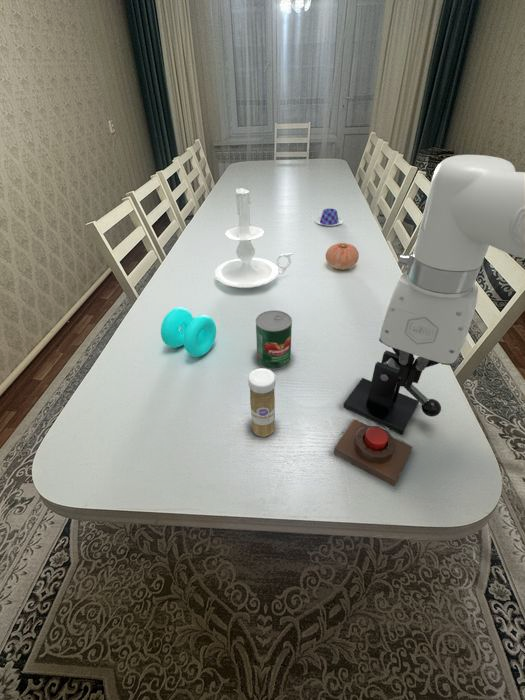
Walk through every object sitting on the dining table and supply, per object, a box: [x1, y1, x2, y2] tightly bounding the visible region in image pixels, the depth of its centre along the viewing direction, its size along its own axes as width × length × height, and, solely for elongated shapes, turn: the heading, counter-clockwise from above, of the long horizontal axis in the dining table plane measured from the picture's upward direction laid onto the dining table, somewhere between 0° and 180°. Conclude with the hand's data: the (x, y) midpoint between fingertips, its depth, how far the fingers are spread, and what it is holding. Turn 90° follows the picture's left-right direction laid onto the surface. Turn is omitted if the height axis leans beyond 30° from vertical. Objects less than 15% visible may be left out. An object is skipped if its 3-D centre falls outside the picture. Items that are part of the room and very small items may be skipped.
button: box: [364, 427, 388, 451], centre depth 61 cm, size 4×4×2 cm
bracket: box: [343, 349, 420, 435], centre depth 68 cm, size 12×9×12 cm
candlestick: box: [213, 187, 293, 289], centre depth 107 cm, size 21×25×28 cm
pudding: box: [314, 208, 344, 227], centre depth 154 cm, size 12×12×5 cm
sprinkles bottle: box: [248, 367, 276, 438], centre depth 64 cm, size 5×5×13 cm
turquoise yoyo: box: [160, 306, 217, 358], centre depth 85 cm, size 10×10×10 cm
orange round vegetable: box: [325, 242, 360, 271], centre depth 119 cm, size 11×11×8 cm
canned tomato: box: [255, 310, 293, 371], centre depth 81 cm, size 8×8×11 cm
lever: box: [383, 358, 442, 418], centre depth 65 cm, size 13×3×3 cm
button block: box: [333, 418, 413, 487], centre depth 62 cm, size 11×8×4 cm
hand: (406, 381), depth 55 cm, fingers closed
